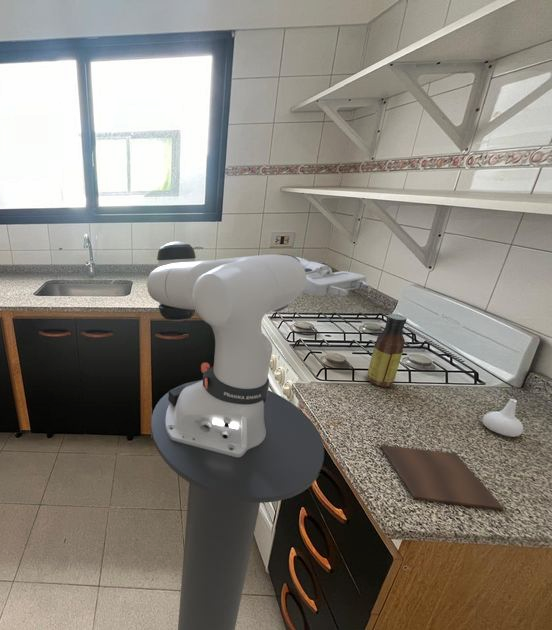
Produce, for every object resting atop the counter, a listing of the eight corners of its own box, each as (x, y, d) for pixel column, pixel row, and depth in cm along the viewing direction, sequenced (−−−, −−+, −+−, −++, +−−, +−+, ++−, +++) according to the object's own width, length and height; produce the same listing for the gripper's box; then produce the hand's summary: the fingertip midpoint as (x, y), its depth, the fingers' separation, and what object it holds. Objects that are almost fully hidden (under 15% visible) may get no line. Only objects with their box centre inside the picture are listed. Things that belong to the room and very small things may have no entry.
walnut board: (413, 498, 63) (414, 496, 62) (380, 447, 74) (381, 445, 74) (502, 510, 60) (504, 508, 60) (454, 455, 72) (455, 453, 72)
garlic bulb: (490, 436, 77) (505, 407, 73) (474, 418, 82) (487, 390, 79) (526, 442, 75) (543, 413, 72) (507, 423, 80) (522, 395, 77)
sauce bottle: (390, 378, 98) (412, 314, 90) (394, 390, 92) (418, 323, 84) (363, 373, 100) (382, 310, 92) (366, 384, 95) (386, 319, 87)
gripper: (338, 282, 114) (380, 296, 102) (291, 291, 107) (330, 306, 95) (343, 264, 112) (386, 275, 100) (295, 271, 104) (335, 285, 93)
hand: (358, 291), depth 97 cm, fingers open, 8 cm apart
